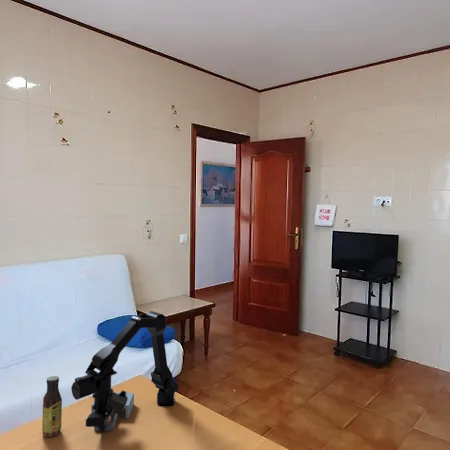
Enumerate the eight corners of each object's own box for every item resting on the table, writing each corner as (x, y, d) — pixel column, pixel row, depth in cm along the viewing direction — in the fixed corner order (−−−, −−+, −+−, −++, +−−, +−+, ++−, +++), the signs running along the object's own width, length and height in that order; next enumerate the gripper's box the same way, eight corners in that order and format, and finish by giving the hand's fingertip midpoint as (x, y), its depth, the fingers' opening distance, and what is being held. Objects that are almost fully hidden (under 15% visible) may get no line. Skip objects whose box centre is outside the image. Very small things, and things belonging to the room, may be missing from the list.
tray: (118, 419, 147) (118, 412, 147) (112, 432, 139) (112, 424, 139) (100, 419, 147) (100, 412, 146) (94, 432, 139) (94, 424, 138)
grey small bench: (133, 405, 157) (134, 392, 157) (128, 419, 147) (128, 405, 147) (99, 405, 157) (99, 392, 157) (91, 419, 147) (91, 405, 147)
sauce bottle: (54, 439, 134) (54, 383, 133) (38, 437, 135) (38, 381, 134) (65, 428, 140) (65, 375, 139) (50, 426, 142) (50, 373, 140)
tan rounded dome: (111, 421, 144) (112, 415, 144) (109, 426, 141) (109, 420, 141) (103, 421, 144) (103, 415, 144) (100, 426, 141) (100, 420, 141)
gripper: (119, 402, 128) (118, 448, 128) (131, 377, 146) (130, 417, 147) (85, 402, 127) (84, 448, 128) (101, 377, 146) (101, 417, 147)
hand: (102, 431), depth 137 cm, fingers closed
